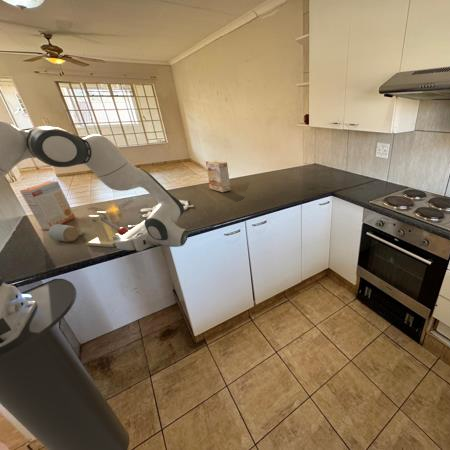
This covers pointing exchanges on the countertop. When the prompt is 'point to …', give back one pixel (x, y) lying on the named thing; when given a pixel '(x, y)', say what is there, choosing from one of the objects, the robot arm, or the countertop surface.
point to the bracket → (102, 231)
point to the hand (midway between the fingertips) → (121, 232)
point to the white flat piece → (156, 206)
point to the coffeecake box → (218, 175)
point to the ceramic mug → (64, 233)
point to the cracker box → (48, 204)
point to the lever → (113, 225)
